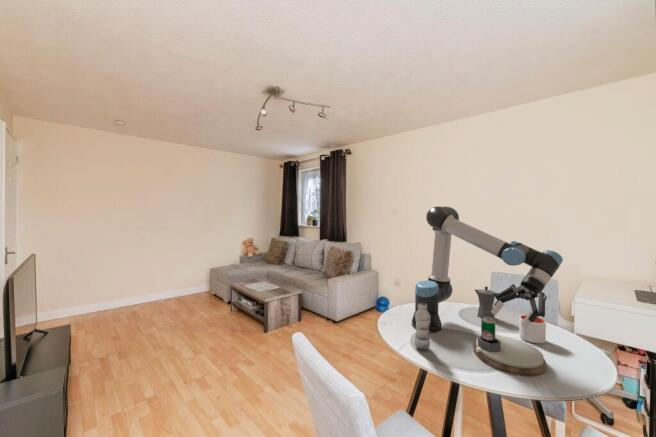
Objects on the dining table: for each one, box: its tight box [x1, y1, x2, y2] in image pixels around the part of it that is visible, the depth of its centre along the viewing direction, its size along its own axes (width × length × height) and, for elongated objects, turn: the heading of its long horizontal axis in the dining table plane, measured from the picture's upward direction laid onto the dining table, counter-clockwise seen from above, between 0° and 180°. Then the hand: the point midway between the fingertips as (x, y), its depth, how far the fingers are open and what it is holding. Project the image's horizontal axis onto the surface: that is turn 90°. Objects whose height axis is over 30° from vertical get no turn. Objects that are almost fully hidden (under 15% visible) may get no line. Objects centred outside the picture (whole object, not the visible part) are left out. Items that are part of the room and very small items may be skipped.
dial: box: [475, 334, 544, 369], centre depth 110 cm, size 25×23×5 cm
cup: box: [518, 314, 547, 344], centre depth 127 cm, size 10×10×10 cm
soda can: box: [480, 317, 496, 343], centre depth 111 cm, size 5×5×12 cm
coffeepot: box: [474, 286, 500, 320], centre depth 153 cm, size 15×9×18 cm, turn 37°
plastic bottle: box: [414, 303, 431, 351], centre depth 118 cm, size 6×7×20 cm
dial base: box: [473, 341, 547, 377], centre depth 111 cm, size 25×25×2 cm
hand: (507, 319), depth 109 cm, fingers open, 13 cm apart
